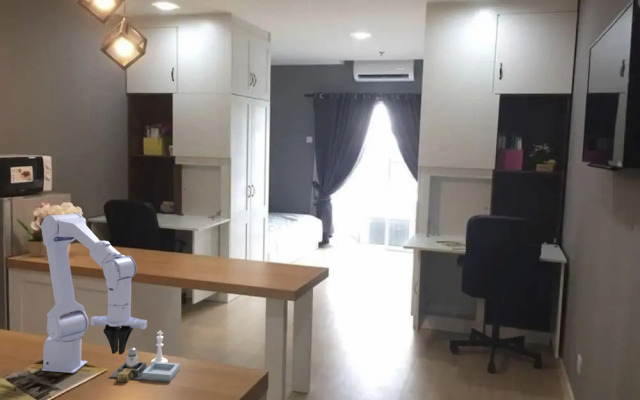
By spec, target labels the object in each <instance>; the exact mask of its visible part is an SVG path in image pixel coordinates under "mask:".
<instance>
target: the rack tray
mask: <svg viewBox="0 0 640 400" xmlns="http://www.w3.org/2000/svg"><path fill="white" fill-rule="evenodd" d="M180 365H181V364H180V363H175V362H168V363H165V362H152V363H151V362H150V363H149V365H147V366H148V367H147V368H146V369H145V370H144V371H143V372H142V380H141V381H154V382H168V383H171V382H172V380H173V379H174V378H175V377H176V375H178V373H179V372H180V369H181V368H180Z"/></svg>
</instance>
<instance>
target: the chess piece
mask: <svg viewBox="0 0 640 400" xmlns="http://www.w3.org/2000/svg"><path fill="white" fill-rule="evenodd" d="M156 334H157V335H158V336H156V340H157V343H156V344H155V346H156V347H157V351H156V357H155V358H153V359H151V361H150V364H151V363H152V362H165V363H169V362H168V361H169V360H168V359H167V358H165V357H164V356H163V351H162V347H163V346H164V343H162V342H163V340H164V336H163V334H164V332H162V330H158V332H156Z"/></svg>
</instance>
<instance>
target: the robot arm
mask: <svg viewBox="0 0 640 400" xmlns="http://www.w3.org/2000/svg"><path fill="white" fill-rule="evenodd" d="M40 229H41V235H42V241H43V245H44V246H45V247H46V252H47V253H46V255H47V261H48V266H49V273H50V280H51V285H52V293H53V298H54V303H55V305H53V307H52V308H51V309H50V310H49V312H47V313H46V316H47V320H46V321H47V324H46V331H47V335H48V337H47V338H46V340H45V341H44V344H43V349H42V350H43V352H42V353H43V354H42V355H43V359H42V361H43V363H42V365H43V367H42V368H41V371H44V372H55V373H57V372H58V373H69V374H75V373H76V372H77V371H79V369H81V368H82V367H84V366H85V365H86V364H87V363H88V361H87V360H82V338H83V337H82V336H84V335H85V332H86V331H87V329H88V328H89V325H90V326H105V327H104V328H103V331H102V332H103V334H104V335H105V336H106V338H107V341H108V343H109V345H110V346H109V347H110V349H111V354H112V355H115V354H116V353H117V352H118V355H123V354H125V351H126V346H127V343H128V340H129V338H130V335H131V333H132V332H133V330H134V328H135V329H140V330H145V329H147V328H148V320H147V319H142V318H141V319H140V318H137V317H132V316H131V311H132V310H131V307H132V305H131V304H132V278H133V277H135V275H136V273H137V264H136V261H135V259H134V258H133V257H132V256H131V255H124V254H121V252H119V251H118V250H117V249H116V248H115V247H114V246H112V245H111V243H110V242H109V241H108V240H100V239H99V238H98V237H97V236H96V235H95V234H94V232H93V231H91V229H90V228H89V227H88V226H87V220H86V218H85V217H84V216H83V215H82V214H81V213H78V212H74V213H67V214H56V215H52V214H50V215H46V216H44V219H43V220H42V222H41V223H40ZM74 241H78V242H79V243H80V244H81V245H83V246H84V247H85V248H87V249H88V250H89V257H90V258H91V259H92V260H94V262H95V263H97V264H98V265H99V266H100V267H101V269H102V272H103V276H104V278H105V285H106V287H107V315H101V316H100V315H93V316H92V317H90V319H89V317H88V315H87V313H86V311H85V306H84V305H83V304H81V303H79V302H77V301H76V297H75V296H76V295H75V290H74V285H73V284H74V283H73V275H72V271H71V265H70V259H69V257H70V256H69V252H68V246H69V245H70V243H72V242H74ZM89 320H90V321H89ZM89 322H90V324H89Z"/></svg>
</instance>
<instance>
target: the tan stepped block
mask: <svg viewBox="0 0 640 400" xmlns="http://www.w3.org/2000/svg"><path fill="white" fill-rule="evenodd" d="M132 376H133V369H127V368H125V369H124V370H123V371H122V372H119V373H118V378H117V381H118V382H124V383H128V382H130V380H131V377H132Z"/></svg>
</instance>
